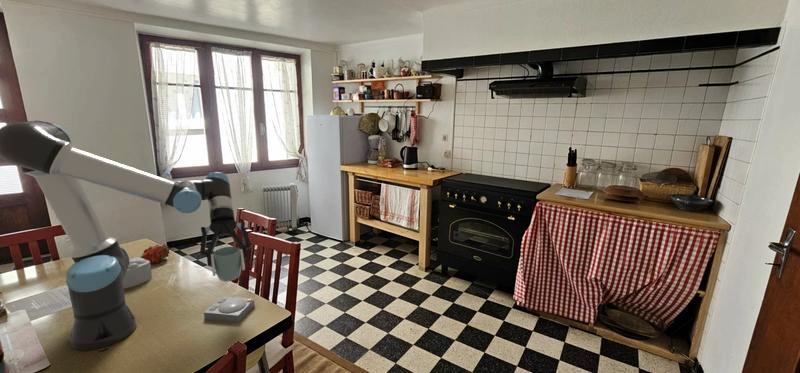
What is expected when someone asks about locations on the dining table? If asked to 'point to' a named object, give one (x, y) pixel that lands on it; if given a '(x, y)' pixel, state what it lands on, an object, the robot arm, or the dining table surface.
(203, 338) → the dining table surface
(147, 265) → the white bumpy block
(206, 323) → the dining table surface
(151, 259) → the dragon fruit
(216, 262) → the cup
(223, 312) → the soap dish with soap
